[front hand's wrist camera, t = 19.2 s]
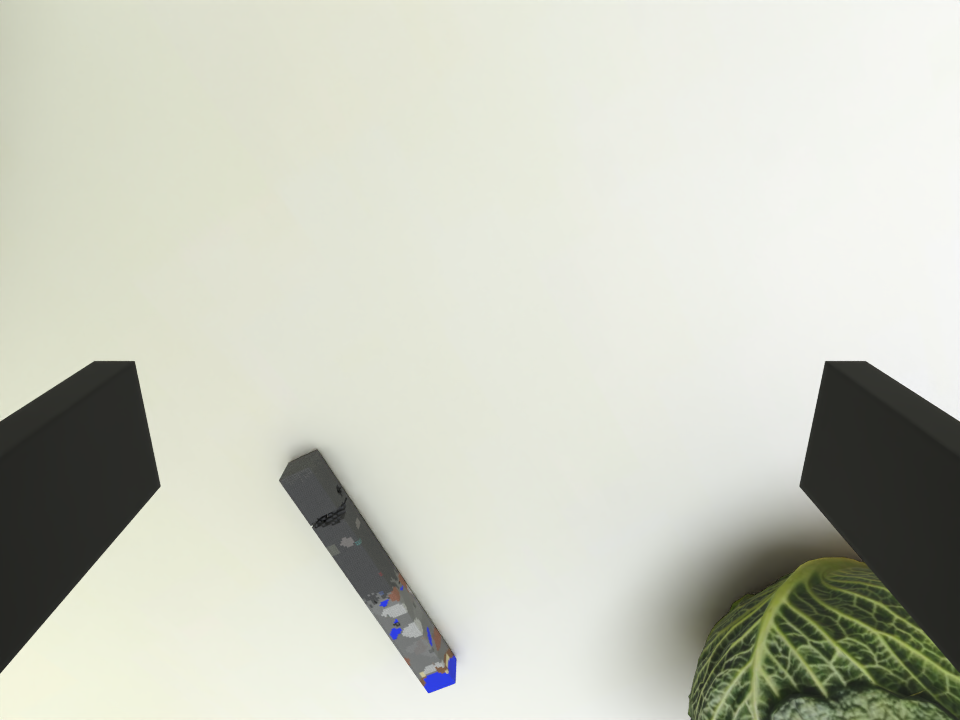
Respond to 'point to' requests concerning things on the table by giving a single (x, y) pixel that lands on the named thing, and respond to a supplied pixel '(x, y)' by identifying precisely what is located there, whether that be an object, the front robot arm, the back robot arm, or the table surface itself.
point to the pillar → (369, 569)
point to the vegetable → (823, 654)
